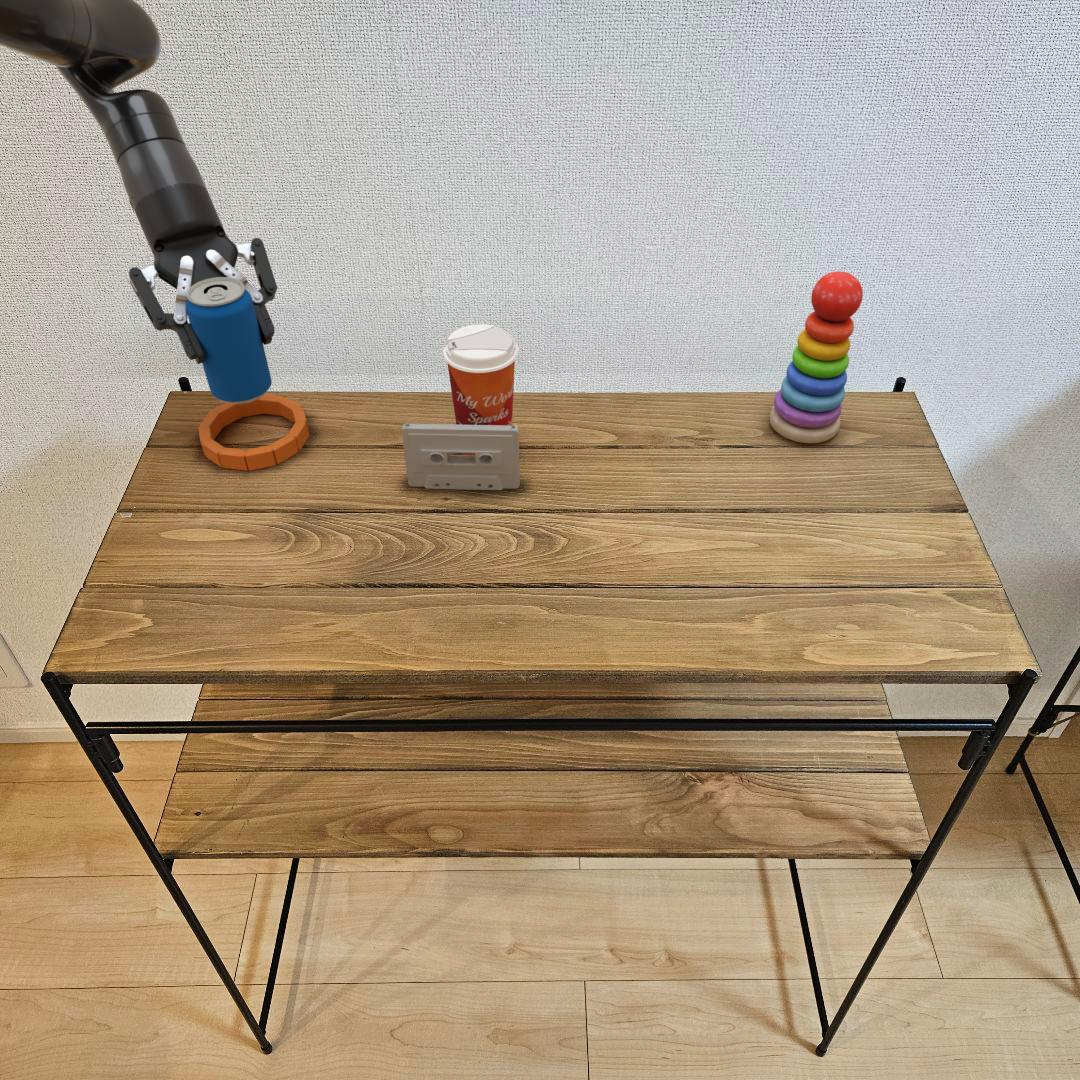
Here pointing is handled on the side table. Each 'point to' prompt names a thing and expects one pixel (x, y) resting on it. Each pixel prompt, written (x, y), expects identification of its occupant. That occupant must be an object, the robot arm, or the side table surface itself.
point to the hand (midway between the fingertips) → (235, 351)
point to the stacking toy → (819, 364)
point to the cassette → (462, 456)
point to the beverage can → (229, 340)
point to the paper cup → (481, 374)
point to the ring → (259, 455)
